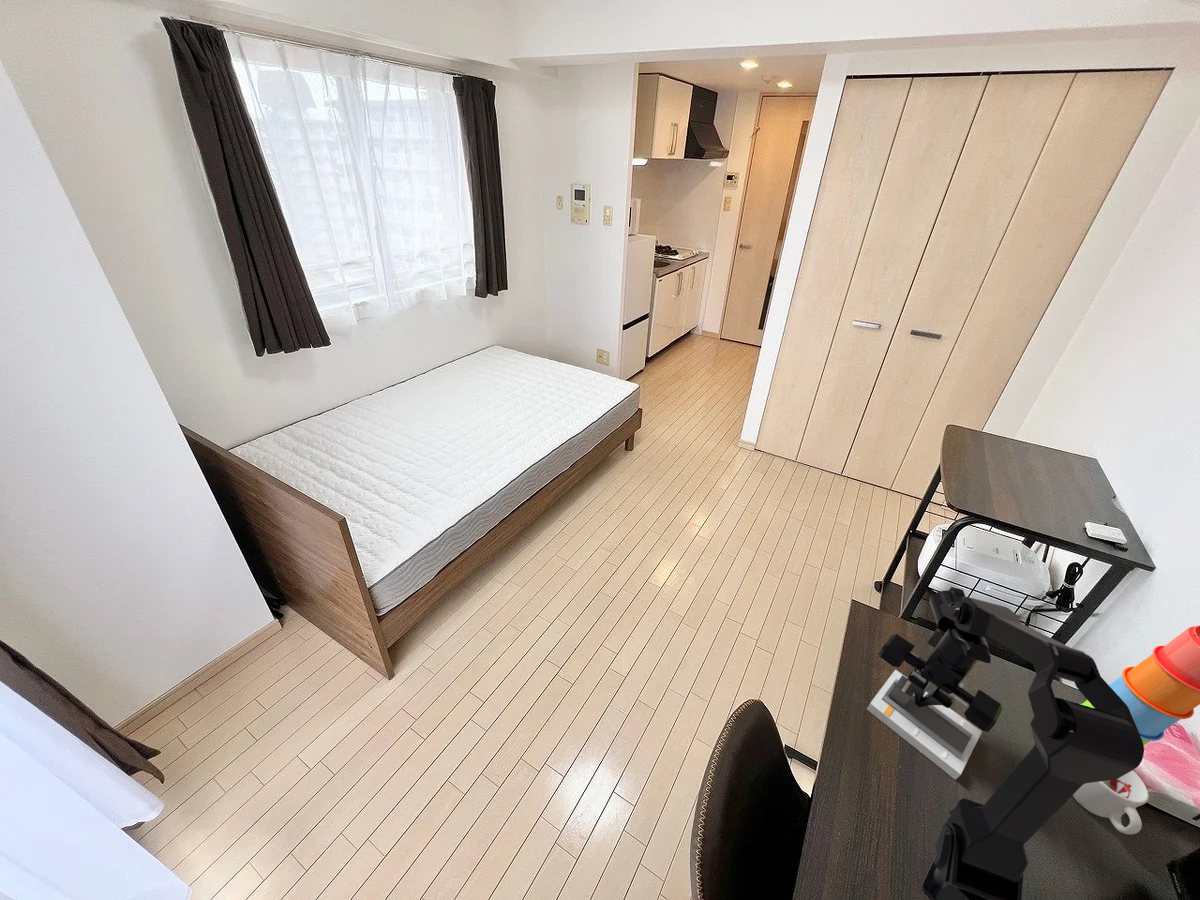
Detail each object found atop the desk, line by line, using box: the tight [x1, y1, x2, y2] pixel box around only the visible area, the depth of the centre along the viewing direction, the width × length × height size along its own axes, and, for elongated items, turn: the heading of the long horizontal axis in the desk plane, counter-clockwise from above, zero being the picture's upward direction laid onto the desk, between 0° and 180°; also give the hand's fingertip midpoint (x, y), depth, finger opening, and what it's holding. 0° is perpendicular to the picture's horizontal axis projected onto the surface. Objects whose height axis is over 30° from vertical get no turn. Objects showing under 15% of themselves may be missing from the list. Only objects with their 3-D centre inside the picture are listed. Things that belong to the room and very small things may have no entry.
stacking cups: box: [1080, 625, 1200, 746], centre depth 82 cm, size 10×10×35 cm
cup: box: [1072, 770, 1150, 835], centre depth 81 cm, size 11×8×8 cm
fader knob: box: [888, 674, 914, 707], centre depth 94 cm, size 4×3×4 cm
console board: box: [866, 669, 983, 781], centre depth 93 cm, size 12×16×2 cm
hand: (917, 704), depth 93 cm, fingers closed
